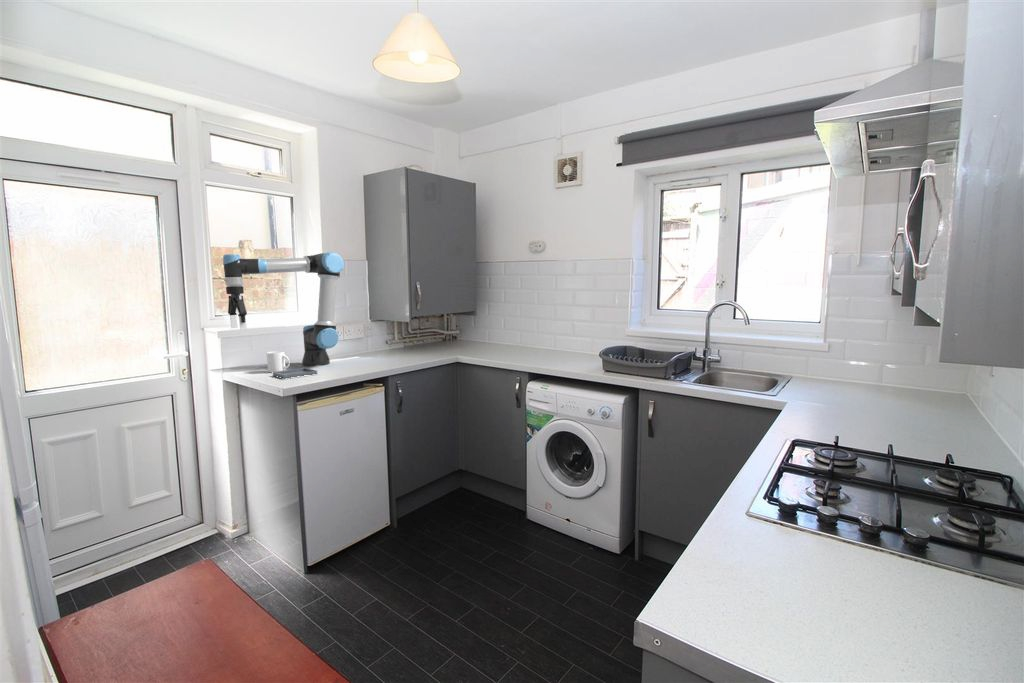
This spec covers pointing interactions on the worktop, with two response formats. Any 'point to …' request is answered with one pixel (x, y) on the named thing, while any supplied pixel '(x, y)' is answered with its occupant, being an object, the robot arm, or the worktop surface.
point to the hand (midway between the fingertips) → (238, 328)
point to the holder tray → (294, 372)
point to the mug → (276, 361)
